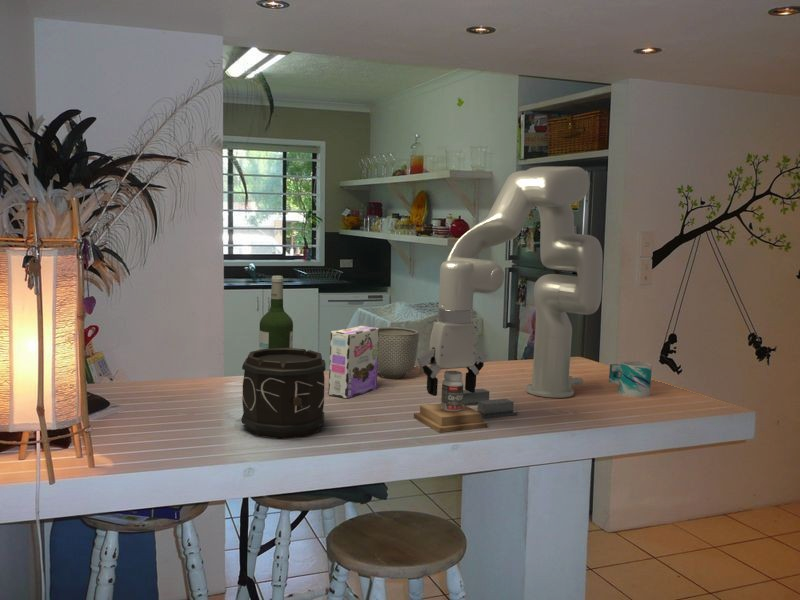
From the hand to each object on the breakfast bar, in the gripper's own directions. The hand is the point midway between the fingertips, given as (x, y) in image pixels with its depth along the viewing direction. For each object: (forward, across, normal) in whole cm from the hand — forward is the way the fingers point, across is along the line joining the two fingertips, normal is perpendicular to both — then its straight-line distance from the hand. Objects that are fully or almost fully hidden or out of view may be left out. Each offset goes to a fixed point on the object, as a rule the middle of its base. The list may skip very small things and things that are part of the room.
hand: (451, 392), depth 167 cm
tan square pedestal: (+7, 0, 0) cm, 7 cm away
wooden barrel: (+7, +36, -8) cm, 38 cm away
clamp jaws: (+7, -14, -8) cm, 17 cm away
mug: (+7, -62, -10) cm, 63 cm away
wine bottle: (+7, +31, -31) cm, 44 cm away
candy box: (+7, +10, -32) cm, 34 cm away
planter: (+7, -8, -46) cm, 47 cm away
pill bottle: (+4, 0, 0) cm, 4 cm away
